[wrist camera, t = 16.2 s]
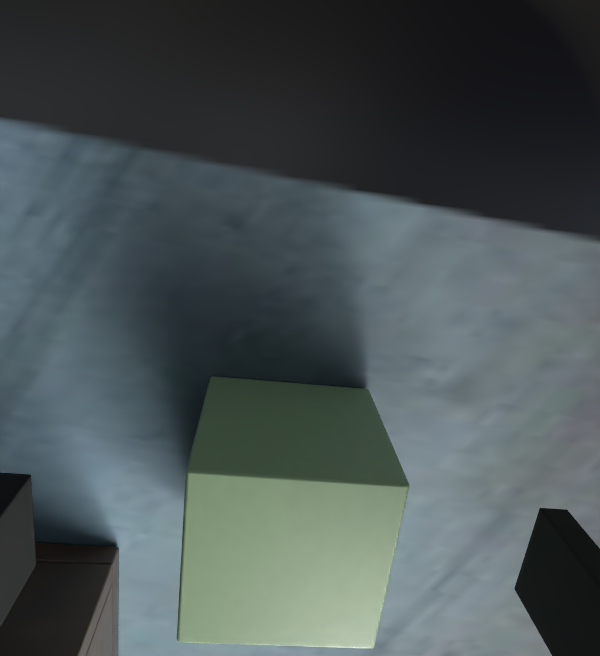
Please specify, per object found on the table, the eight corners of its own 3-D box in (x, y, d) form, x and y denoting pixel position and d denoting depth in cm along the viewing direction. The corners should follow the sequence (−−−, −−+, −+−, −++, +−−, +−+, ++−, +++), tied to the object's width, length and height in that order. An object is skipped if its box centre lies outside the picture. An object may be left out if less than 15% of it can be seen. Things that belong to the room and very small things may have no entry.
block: (210, 375, 16) (185, 470, 11) (368, 388, 16) (410, 484, 11) (201, 509, 17) (176, 643, 13) (345, 517, 18) (374, 650, 13)
